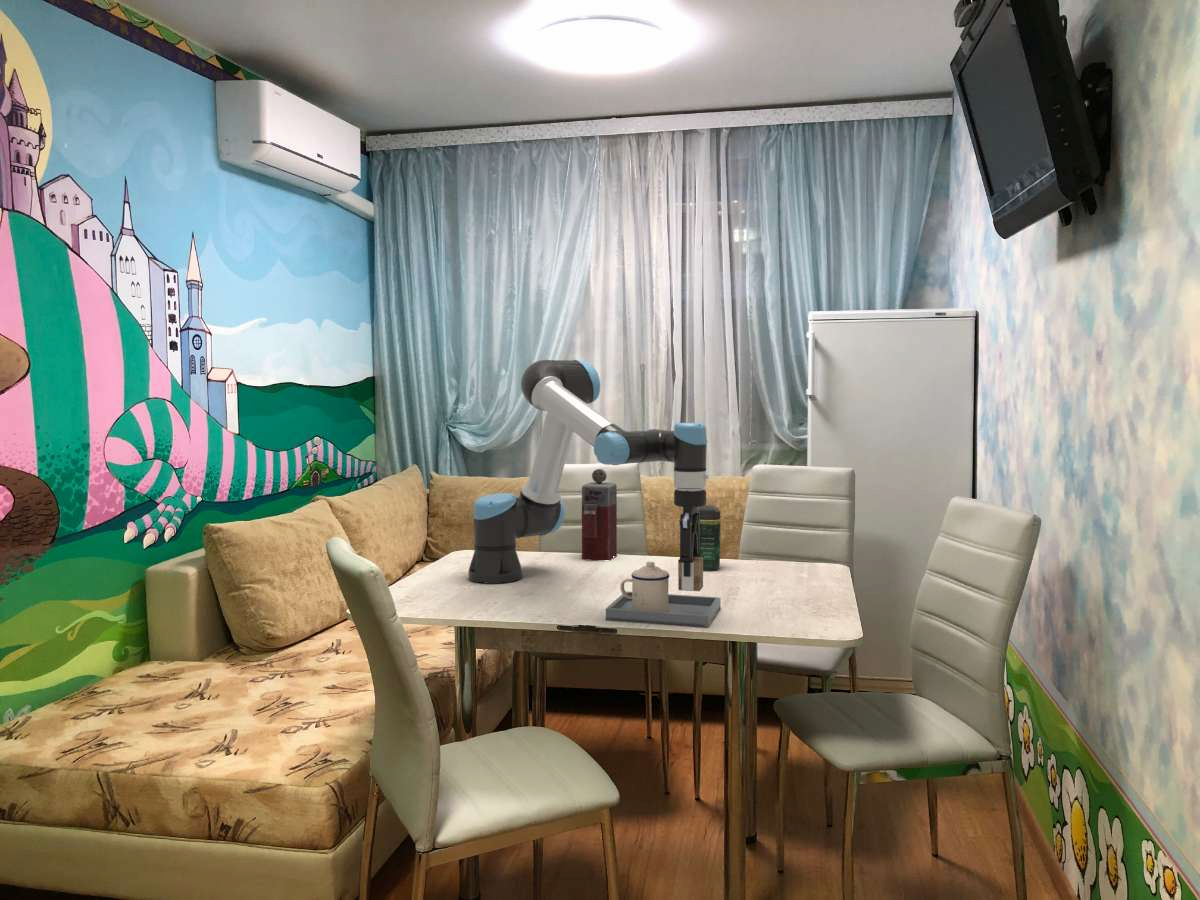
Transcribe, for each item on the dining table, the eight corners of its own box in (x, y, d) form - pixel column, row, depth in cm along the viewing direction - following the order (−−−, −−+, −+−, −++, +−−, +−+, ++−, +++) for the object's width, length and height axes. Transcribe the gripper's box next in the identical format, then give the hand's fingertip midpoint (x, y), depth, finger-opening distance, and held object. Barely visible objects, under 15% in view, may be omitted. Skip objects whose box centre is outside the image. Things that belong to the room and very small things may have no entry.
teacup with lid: (673, 607, 216) (673, 559, 215) (663, 616, 207) (663, 567, 206) (626, 603, 220) (626, 556, 219) (614, 612, 211) (614, 563, 210)
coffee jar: (720, 571, 259) (720, 508, 258) (693, 570, 260) (693, 507, 259) (720, 564, 269) (720, 503, 267) (693, 564, 270) (693, 503, 268)
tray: (605, 619, 207) (605, 608, 207) (625, 601, 224) (625, 591, 224) (708, 627, 200) (708, 616, 200) (720, 608, 217) (720, 597, 217)
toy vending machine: (579, 560, 275) (579, 470, 273) (590, 554, 286) (589, 467, 284) (607, 562, 272) (607, 471, 270) (616, 555, 283) (616, 468, 281)
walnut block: (699, 591, 207) (699, 561, 206) (678, 590, 208) (678, 560, 208) (703, 586, 212) (703, 557, 211) (682, 585, 213) (682, 556, 212)
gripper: (699, 493, 198) (699, 596, 200) (712, 485, 216) (711, 579, 217) (666, 492, 201) (666, 594, 202) (681, 484, 218) (681, 578, 220)
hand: (689, 586), depth 210 cm, fingers closed on walnut block, 5 cm apart
